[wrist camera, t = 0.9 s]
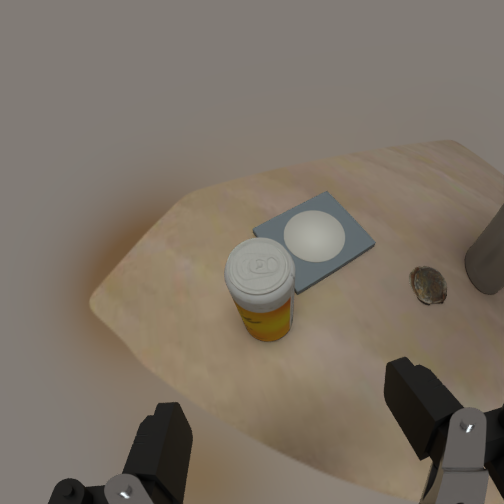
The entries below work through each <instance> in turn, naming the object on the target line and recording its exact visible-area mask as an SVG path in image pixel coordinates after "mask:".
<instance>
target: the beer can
mask: <svg viewBox="0 0 504 504" xmlns="http://www.w3.org/2000/svg"><path fill="white" fill-rule="evenodd" d="M224 277H225V282H226V285H227V287H228V289H229V291H230V294H231V296H232V298H233V300H234V302H235V304H236V307H237V309H238V311H239V313H240V315H241V317H242V320H243V322H244V324H245V326H246V328H247V330H248V332H249V333H250V334H251V335H252V336H253V337H255V338H256V339H259V340H262V341H274V340H277V339H280V338H281V337H283V336H284V335H285V334H286V333H287V332H288V331H289V329H290V327H291V325H292V320H293V306H294V288H295V264H294V261H293V259H292V257H291V255H290V254H289V253H288V251H287V250H286V249H285V248H284V247H283V246H282V245H281V244H280V243H278V242H276V241H274V240H272V239H269V238H261V237H259V238H252V239H248V240H246V241H244V242H242V243H240V244H239V245H237V246H236V247H235V248H234V249H233V250H232V252H231V253H230V255H229V257H228V260H227V263H226V266H225V271H224Z"/></svg>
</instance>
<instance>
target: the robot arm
mask: <svg viewBox="0 0 504 504" xmlns="http://www.w3.org/2000/svg"><path fill="white" fill-rule="evenodd" d="M465 265H466V270H467V273H468V276H469V278H470V280H471V281H472V283H473V284H474V285H475V286H476V287H477V288H478V289H479V290H480V291H482V292H484V293H486V294H495V293H497V292H498V291H499V290H501V289H502V288H503V287H504V204H503V205H502V207H501V208H500V210H499V211H498V212H497V214H496V215H495V217H494V218H493V219H492V221H491V222H490V223H489V225H488V226H487V227H486V229H485V230H484V231H483V233H482V234H481V235H480V236H479V237H478V239H477V240H476V241H475V242H474V244H473V245H472V246H471V247H470V249H469V250H468V251H467V253H466V257H465ZM384 398H385V401H386V404H387V406H388V407H389V409H390V411H391V412H392V414H393V416H394V417H395V419H396V421H397V422H398V424H399V426H400V427H401V429H402V431H403V432H404V434H405V436H406V437H407V439H408V441H409V442H410V444H411V446H412V448H413V449H414V451H415V453H416V454H417V456H418V458H419V460H420V461H421V460H423V459H425V458H427V457H429V456H430V458H431V459H432V463H431V466H430V470H429V474H428V477H427V480H426V484H425V487H424V490H423V493H422V496H421V499H420V502H419V504H484V501H485V496H486V490H487V484H488V476H489V475H490V477H491V478H492V480H493V482H494V484H495V485H496V487H497V489H498V491H499V492H500V494H501V496H502V498H503V499H504V404H503V406H502V407H501V408H498V409H495V410H492V411H488V412H485V413H483V412H481V411H480V410H478V409H476V408H470V407H469V408H464V407H463V406H462V405H461V404H460V402H459V401H458V400H457V399H456V398H455V397H454V396H453V395H452V393H451V392H450V391H449V390H448V389H447V388H446V387H445V386H444V385H443V384H442V382H441V381H440V380H439V379H437V377H436V376H435V375H434V374H433V372H432V371H431V370H430V369H428V368H426V367H424V366H422V365H420V364H419V365H416V366H414V365H413V364H412V363H411V361H410V360H409V359H408V358H407V357H402V358H399V359H397V360H394V361H391V362H388V363H387V365H386V374H385V384H384ZM192 441H193V435H192V430H191V427H190V425H189V423H188V421H187V419H186V417H185V415H184V413H183V411H182V408H181V406H180V404H179V403H178V402H171V403H158V405H157V407H156V410H155V413H154V415H153V416H152V415H150V416H147V417H146V418H145V419H144V421H143V422H142V423H141V424H140V426H139V429H138V431H137V436H136V437H135V440H134V444H133V445H132V447H131V450H130V453H129V456H128V459H127V461H126V464H125V467H124V469H123V472H122V474H119V475H116V476H114V477H112V478H111V479H110V480H109V481H108V482H107V483H106V485H103V486H92V487H85V486H84V485H83V484H82V483H81V482H79V481H78V480H76V479H72V478H70V479H69V478H68V479H64V480H62V481H60V482H59V483H58V484H57V485H56V486H55V488H54V490H53V492H52V495H51V497H50V500H49V502H48V504H183V499H184V492H185V485H186V478H187V473H188V466H189V460H190V454H191V448H192ZM484 467H485V468H486V469H484Z"/></svg>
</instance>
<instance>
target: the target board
mask: <svg viewBox="0 0 504 504" xmlns="http://www.w3.org/2000/svg"><path fill="white" fill-rule="evenodd" d="M253 233H254V234H255V236H256V237H257V238H259V237H261V238H269V239H272V240H274V241H276V242H278V243H280V244H281V245H282V246H283V247H284V248H285V249H286V250H287V251H288V253H289V254H290V255H291V257H292V259H293V261H294V264H295V288H294V291H295V292H296V294H297V295H298V294H300V293H301V292H303V291H305V290H306V289H308V288H310V287H311V286H313V285H314V284H316V283H318V282H319V281H321V280H323V279H324V278H326V277H327V276H329V275H331V274H332V273H334V272H335V271H337V270H338V269H340V268H342V267H343V266H345V265H346V264H348V263H349V262H351V261H352V260H354V259H356V258H357V257H359V256H360V255H362V254H363V253H365V252H366V251H368V250H369V249H371V248H372V247H374V245H375V243H376V242H375V241H374V240H373V239H372V238H371V237H370V236H369V235H368V233H367V232H366V231H365V230H364V229H363V228H362V227H361V226H360V225H359V224H358V223H357V222H356V220H355V219H354V218H353V217H352V216H351V215H350V214H349V213H348V212H347V211H346V210H345V209H344V208H343V207H342V206H341V205H340V204H339V203H338V202H337V201H336V200H335V199H334V198H333V197H332V196H331V195H330V194H329V193H328V192H327V191H326V192H324V193H322V194H320V195H318V196H316V197H314V198H312V199H310V200H308V201H306V202H304V203H302V204H300V205H298V206H296V207H294V208H292V209H290V210H288V211H286V212H284V213H282V214H280V215H278V216H276V217H274V218H272V219H271V220H269V221H267V222H265V223H263V224H261V225H259V226H257V227H255V228H253Z"/></svg>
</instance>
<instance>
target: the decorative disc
mask: <svg viewBox="0 0 504 504" xmlns="http://www.w3.org/2000/svg"><path fill="white" fill-rule="evenodd" d="M409 282H410V287H411V289H412V291H413V292H414V293H415V294H416V295H417V296H418V299H419V300H420V301H422V302H423V303H425V304H427V305H430V304H431V303H436V302H438V303H440V302H441V303H443V302H444V300H445V299H446V296H447V294H446V293H447V286H446V282H445V280H444V278H443V277H442V275H441V274H440V273H439V272H438V271H437V270H435V269H433V268H430V267H426V266H423V267H416V268H415V269H414V270H413V271H412V272H411V273H410V275H409Z"/></svg>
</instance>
